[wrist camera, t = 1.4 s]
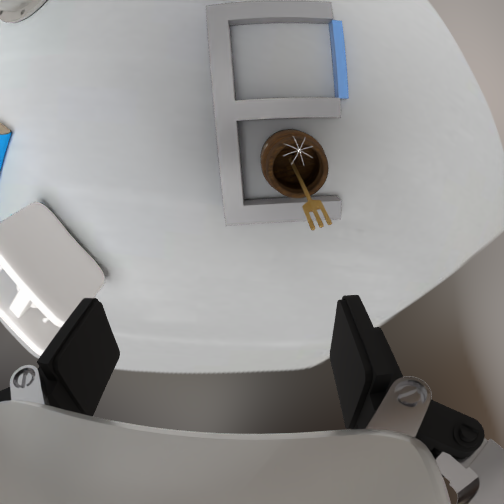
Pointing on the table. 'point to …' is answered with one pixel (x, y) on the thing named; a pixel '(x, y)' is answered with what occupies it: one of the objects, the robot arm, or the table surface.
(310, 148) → the utensil holder
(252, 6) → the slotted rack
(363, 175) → the table surface
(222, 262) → the table surface
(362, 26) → the table surface
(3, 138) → the book
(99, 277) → the cable organizer
